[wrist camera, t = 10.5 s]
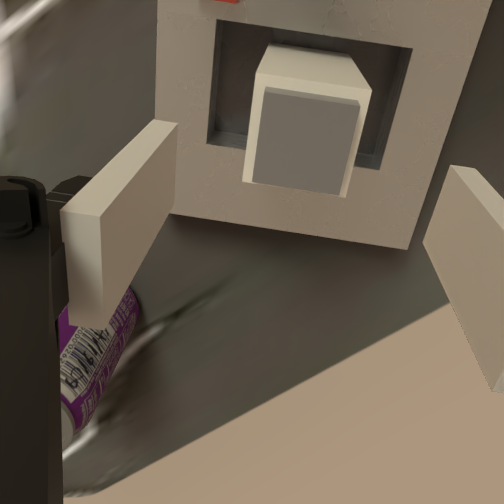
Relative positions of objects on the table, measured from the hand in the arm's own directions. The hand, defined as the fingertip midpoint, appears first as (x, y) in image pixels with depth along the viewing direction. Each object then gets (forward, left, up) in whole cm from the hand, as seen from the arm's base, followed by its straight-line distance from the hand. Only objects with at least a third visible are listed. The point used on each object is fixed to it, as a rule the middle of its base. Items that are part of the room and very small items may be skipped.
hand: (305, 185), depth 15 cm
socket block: (0, 0, -15) cm, 15 cm away
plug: (0, 0, -15) cm, 15 cm away
